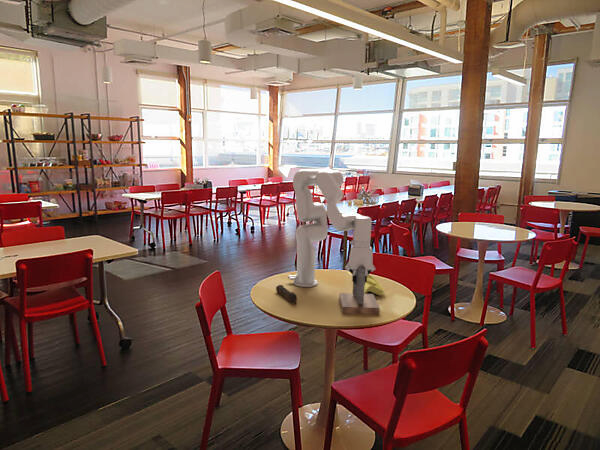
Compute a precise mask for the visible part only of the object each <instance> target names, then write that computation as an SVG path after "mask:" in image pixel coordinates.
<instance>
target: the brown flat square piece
mask: <svg viewBox="0 0 600 450" xmlns="http://www.w3.org/2000/svg"><path fill="white" fill-rule="evenodd" d="M338 300H339V304H340V307H341V312H342V314H350V315H351V314H353V315H354V314H355V315H357V314H358V315H359V314H360V315H380V306H379V303H378V301H377V299H376V297H375V295H374V293H366V294H364V302H363V304H361V305H360V304H357V300H356V297H355V296H354V295H353V292H352V293H347V292H346V293H345V292H343V293H342V292H341V293H339V299H338Z"/></svg>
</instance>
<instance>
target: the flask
mask: <svg viewBox="0 0 600 450" xmlns="http://www.w3.org/2000/svg"><path fill="white" fill-rule="evenodd" d="M364 285H365V267H364V266H360V267H359V270H356V284H354V282H352V293H353V295H354V296H355V297H356V300H357V304H360V305H361V304H363V302H364Z"/></svg>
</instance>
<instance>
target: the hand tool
mask: <svg viewBox="0 0 600 450" xmlns="http://www.w3.org/2000/svg"><path fill="white" fill-rule="evenodd" d="M275 290H276V293H278V294H281V295H282V297H284V298H286V299H287V300H288V303H291V304H293V305H297V302H298V301H297V300H298V297H297V294H295V292H293V291H290V290H288V289H287V288H285V287H284V285H283V284H278V285H277V286H275Z"/></svg>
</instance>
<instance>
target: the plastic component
mask: <svg viewBox="0 0 600 450" xmlns="http://www.w3.org/2000/svg"><path fill="white" fill-rule="evenodd" d="M368 292H371V293H372V294H376V295H378V296H383V294H384V292H385V289H384V288H383V286H382V285H381V284H380V282H379V281H378V280H377V279H376V278H375V277H373V276H372V275H371V274H370V273H369V274H368V276H367V282H365V285H364V294H368Z"/></svg>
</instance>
